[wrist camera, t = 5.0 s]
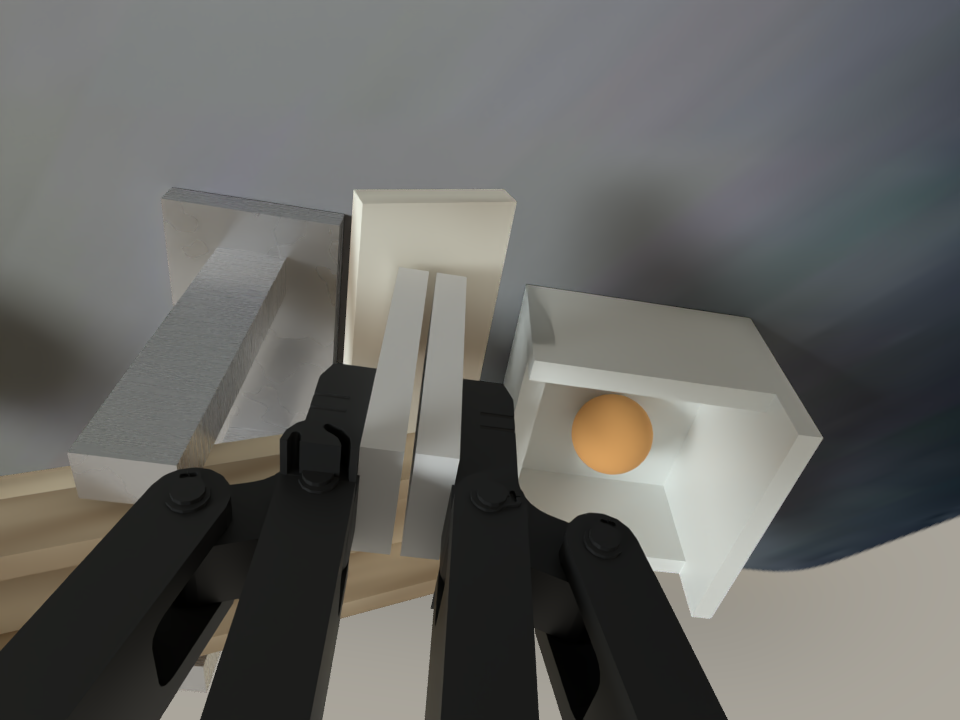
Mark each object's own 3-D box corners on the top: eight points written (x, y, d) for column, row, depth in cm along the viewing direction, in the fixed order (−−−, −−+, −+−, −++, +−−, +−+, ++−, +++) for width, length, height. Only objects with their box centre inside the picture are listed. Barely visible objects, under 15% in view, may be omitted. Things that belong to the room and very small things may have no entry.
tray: (526, 284, 26) (538, 399, 20) (750, 318, 26) (823, 437, 21) (484, 464, 31) (483, 594, 25) (670, 487, 32) (710, 618, 26)
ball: (678, 430, 25) (643, 377, 28) (600, 432, 24) (571, 378, 27) (651, 489, 27) (621, 435, 29) (578, 493, 26) (553, 437, 29)
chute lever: (-511, 168, 11) (-745, 303, 8) (488, 174, 18) (561, 245, 15) (-177, 642, 19) (-231, 801, 16) (428, 512, 26) (468, 603, 23)
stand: (172, 187, 23) (-36, 389, 14) (344, 214, 24) (254, 426, 15) (199, 455, 31) (75, 704, 22) (330, 471, 31) (265, 721, 22)
